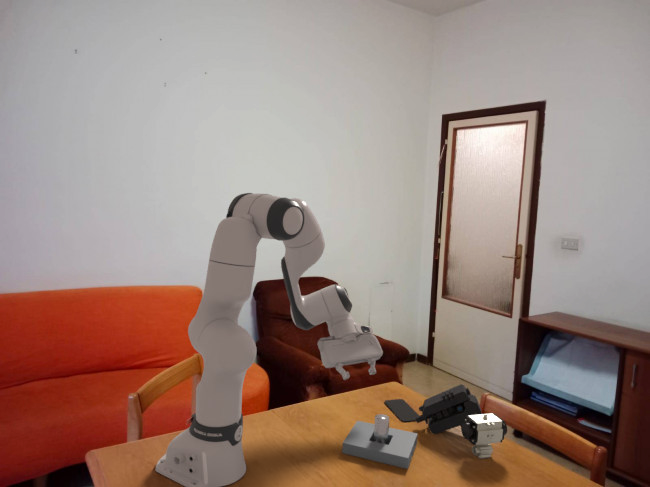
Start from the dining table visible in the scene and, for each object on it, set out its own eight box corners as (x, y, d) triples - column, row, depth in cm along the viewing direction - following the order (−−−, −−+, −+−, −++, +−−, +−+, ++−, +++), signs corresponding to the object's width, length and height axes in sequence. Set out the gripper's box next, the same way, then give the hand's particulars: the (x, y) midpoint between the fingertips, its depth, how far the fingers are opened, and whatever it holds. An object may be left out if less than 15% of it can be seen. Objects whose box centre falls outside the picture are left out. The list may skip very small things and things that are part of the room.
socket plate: (342, 453, 130) (342, 442, 130) (356, 430, 144) (357, 420, 143) (407, 469, 124) (408, 458, 124) (416, 443, 137) (417, 433, 137)
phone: (402, 421, 150) (383, 400, 164) (401, 424, 150) (383, 402, 164) (423, 419, 152) (402, 398, 166) (423, 421, 152) (402, 400, 166)
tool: (492, 433, 139) (469, 387, 139) (431, 455, 144) (409, 411, 144) (489, 423, 145) (467, 379, 145) (431, 445, 150) (410, 402, 150)
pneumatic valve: (458, 453, 133) (461, 412, 132) (495, 449, 136) (498, 408, 135) (469, 464, 128) (472, 421, 127) (507, 459, 131) (511, 418, 130)
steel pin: (371, 450, 133) (373, 419, 132) (375, 443, 136) (376, 413, 136) (385, 453, 131) (387, 422, 130) (388, 446, 135) (390, 416, 134)
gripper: (319, 333, 142) (334, 376, 135) (375, 326, 152) (392, 366, 145) (311, 343, 147) (326, 386, 139) (367, 336, 157) (382, 375, 149)
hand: (360, 376), depth 142 cm, fingers open, 8 cm apart
